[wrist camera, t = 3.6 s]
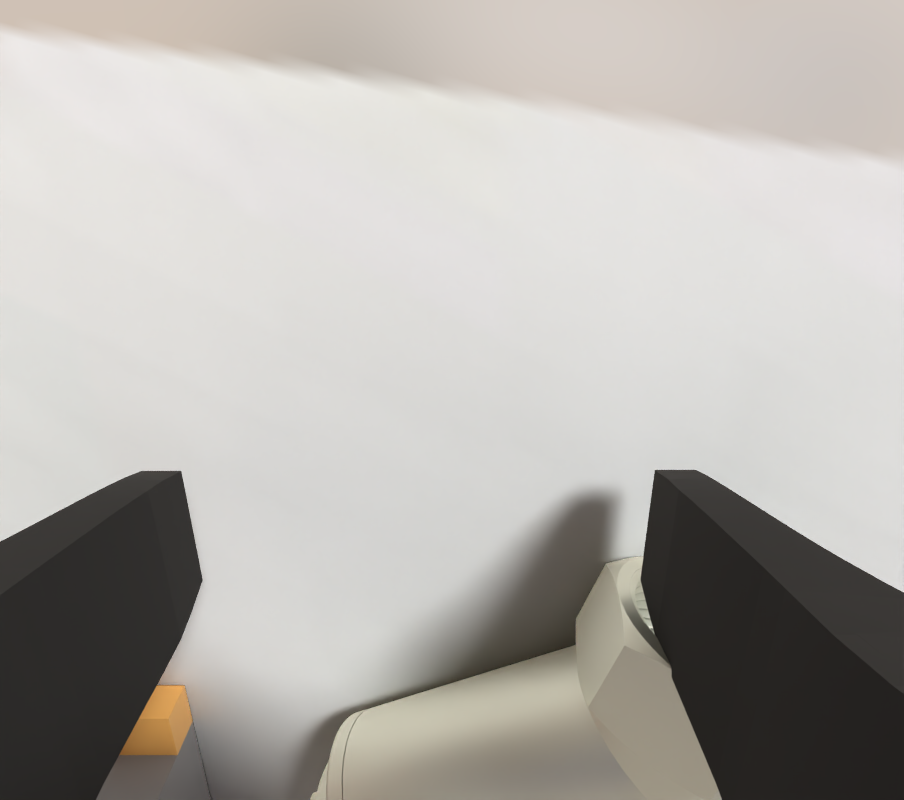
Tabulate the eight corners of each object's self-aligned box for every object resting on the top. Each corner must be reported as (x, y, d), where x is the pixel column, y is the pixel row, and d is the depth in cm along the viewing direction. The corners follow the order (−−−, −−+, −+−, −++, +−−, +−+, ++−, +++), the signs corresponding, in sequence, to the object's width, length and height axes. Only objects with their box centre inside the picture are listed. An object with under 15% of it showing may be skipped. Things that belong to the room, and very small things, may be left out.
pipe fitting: (320, 754, 15) (594, 843, 15) (259, 952, 11) (621, 1062, 12) (430, 465, 12) (769, 583, 12) (395, 608, 8) (879, 770, 9)
